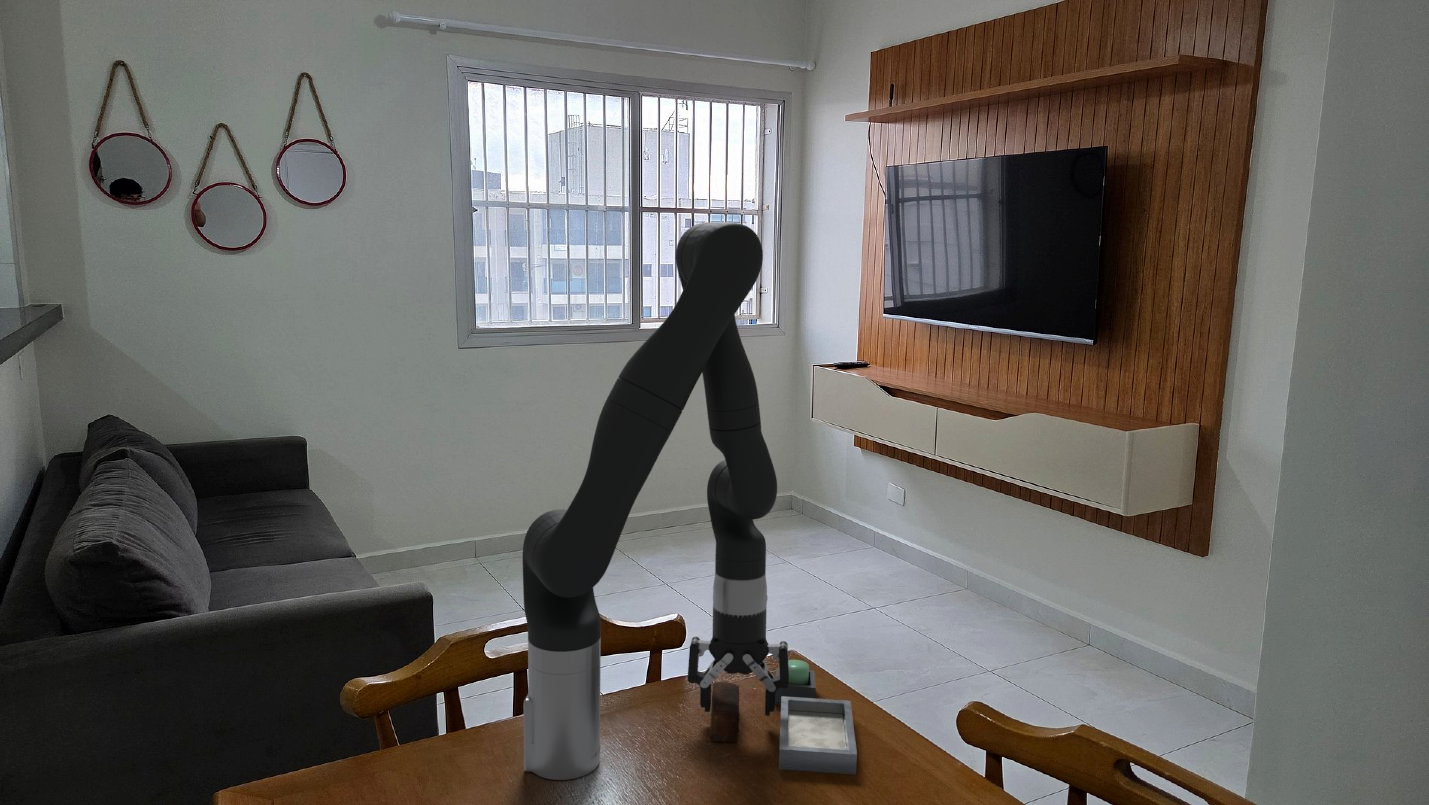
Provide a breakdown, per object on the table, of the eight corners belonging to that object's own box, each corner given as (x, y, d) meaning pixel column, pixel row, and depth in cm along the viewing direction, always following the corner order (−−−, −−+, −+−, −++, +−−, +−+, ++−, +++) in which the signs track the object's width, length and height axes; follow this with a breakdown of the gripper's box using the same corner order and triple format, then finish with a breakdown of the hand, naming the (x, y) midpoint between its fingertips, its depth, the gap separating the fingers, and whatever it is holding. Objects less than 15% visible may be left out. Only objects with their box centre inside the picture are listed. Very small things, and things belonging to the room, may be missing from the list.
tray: (778, 769, 123) (779, 749, 123) (780, 714, 138) (781, 696, 138) (855, 774, 122) (857, 754, 122) (849, 718, 137) (850, 700, 137)
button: (781, 685, 142) (782, 670, 141) (782, 674, 145) (782, 658, 145) (808, 687, 141) (809, 671, 141) (808, 675, 145) (808, 660, 145)
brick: (738, 745, 129) (740, 713, 129) (710, 743, 129) (711, 711, 129) (738, 708, 140) (739, 678, 139) (712, 707, 140) (712, 677, 139)
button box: (774, 704, 141) (775, 685, 141) (775, 686, 147) (776, 668, 146) (814, 706, 141) (815, 687, 140) (813, 688, 146) (814, 670, 146)
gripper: (685, 610, 129) (684, 721, 131) (790, 615, 127) (787, 727, 130) (692, 591, 136) (691, 696, 139) (791, 595, 135) (788, 701, 137)
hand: (737, 711), depth 134 cm, fingers open, 8 cm apart
